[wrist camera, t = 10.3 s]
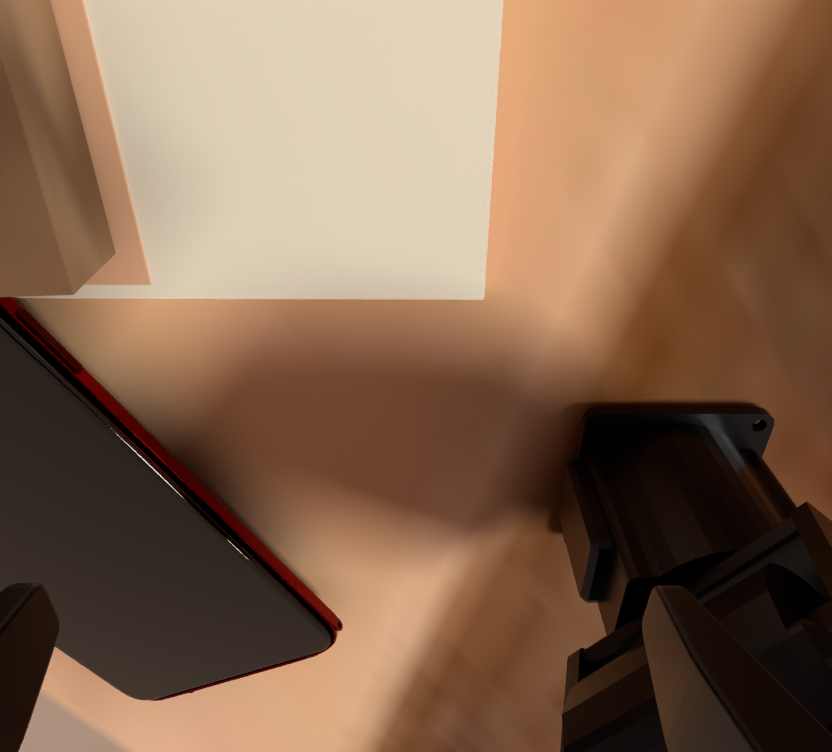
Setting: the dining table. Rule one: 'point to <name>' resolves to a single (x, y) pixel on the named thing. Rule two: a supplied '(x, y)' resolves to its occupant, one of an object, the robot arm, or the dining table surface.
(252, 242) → the mat
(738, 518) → the robot arm
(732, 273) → the dining table surface
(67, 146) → the slotted tan box
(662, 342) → the dining table surface
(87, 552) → the grey and red slab
